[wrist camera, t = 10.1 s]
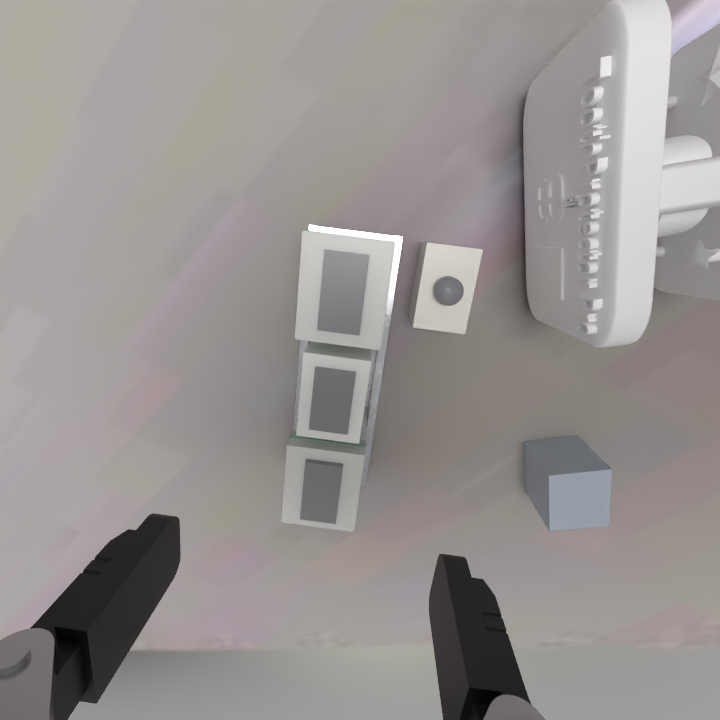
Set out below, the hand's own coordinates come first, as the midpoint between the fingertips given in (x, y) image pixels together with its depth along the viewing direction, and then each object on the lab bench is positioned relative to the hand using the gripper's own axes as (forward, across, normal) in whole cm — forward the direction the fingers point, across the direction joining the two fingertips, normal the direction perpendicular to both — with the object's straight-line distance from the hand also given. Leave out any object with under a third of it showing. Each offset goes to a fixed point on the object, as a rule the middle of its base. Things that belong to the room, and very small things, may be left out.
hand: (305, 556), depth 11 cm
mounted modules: (+19, +1, 0) cm, 19 cm away
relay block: (+20, -18, +7) cm, 28 cm away
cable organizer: (+20, -15, -14) cm, 29 cm away
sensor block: (+20, -6, -7) cm, 22 cm away
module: (+19, +1, 0) cm, 19 cm away
